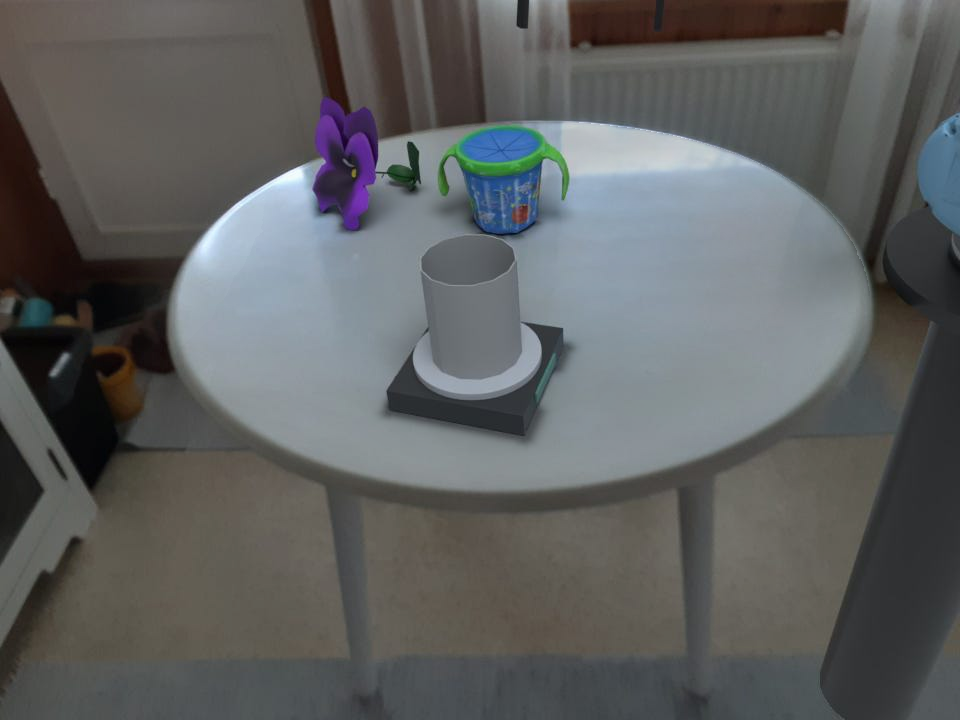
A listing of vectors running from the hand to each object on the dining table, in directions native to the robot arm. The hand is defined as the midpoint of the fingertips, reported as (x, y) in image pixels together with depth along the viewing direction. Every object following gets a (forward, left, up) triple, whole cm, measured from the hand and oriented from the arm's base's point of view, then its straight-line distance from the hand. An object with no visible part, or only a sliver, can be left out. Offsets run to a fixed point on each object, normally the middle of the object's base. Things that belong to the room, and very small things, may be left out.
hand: (588, 29), depth 85 cm
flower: (+29, -2, -24) cm, 37 cm away
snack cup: (+11, -1, -24) cm, 26 cm away
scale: (+4, +28, -24) cm, 37 cm away
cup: (+4, +28, -21) cm, 35 cm away
